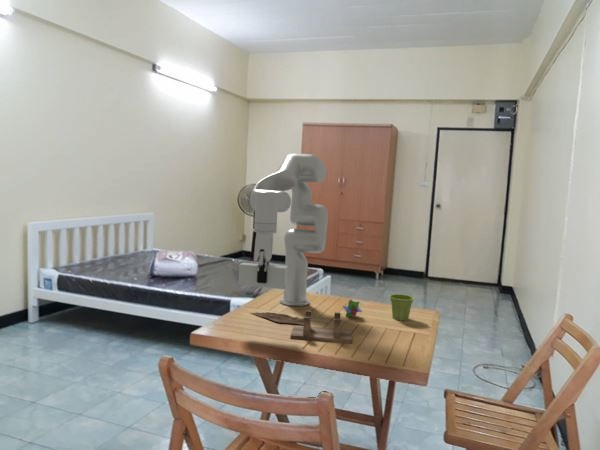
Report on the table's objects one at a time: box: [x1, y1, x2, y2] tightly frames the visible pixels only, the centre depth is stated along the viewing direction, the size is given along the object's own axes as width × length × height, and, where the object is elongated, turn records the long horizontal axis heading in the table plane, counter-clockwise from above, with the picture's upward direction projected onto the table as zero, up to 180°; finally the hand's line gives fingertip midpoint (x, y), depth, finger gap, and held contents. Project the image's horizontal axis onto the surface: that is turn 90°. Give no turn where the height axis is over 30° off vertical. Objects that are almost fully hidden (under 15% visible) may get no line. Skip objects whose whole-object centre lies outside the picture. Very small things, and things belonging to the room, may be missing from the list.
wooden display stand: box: [289, 309, 353, 344], centre depth 160 cm, size 11×20×7 cm, turn 85°
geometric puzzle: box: [342, 299, 363, 320], centre depth 185 cm, size 7×7×8 cm
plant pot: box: [389, 293, 415, 321], centre depth 187 cm, size 9×9×9 cm
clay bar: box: [238, 262, 288, 290], centre depth 162 cm, size 4×16×7 cm, turn 79°
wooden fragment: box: [250, 311, 304, 326], centre depth 177 cm, size 26×11×1 cm, turn 59°
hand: (263, 280), depth 162 cm, fingers closed on clay bar, 4 cm apart
